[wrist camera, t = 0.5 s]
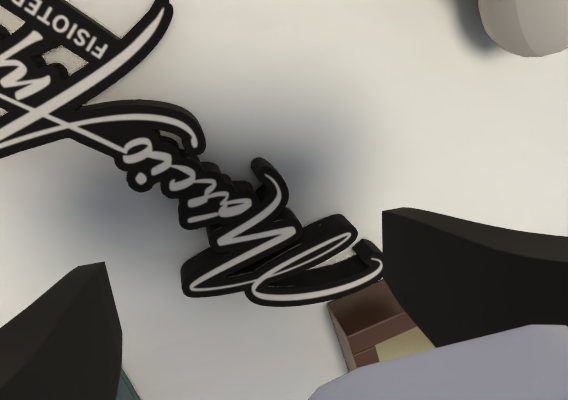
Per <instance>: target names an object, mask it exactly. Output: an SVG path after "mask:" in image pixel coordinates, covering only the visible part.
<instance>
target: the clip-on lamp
mask: <svg viewBox="0 0 568 400" xmlns="http://www.w3.org/2000/svg"><path fill="white" fill-rule="evenodd" d="M478 3H479V11H480V15H481V19H482V23H483V26H484V29H485V30H486V32H487V34H488V35H489V36H490V37H491V38H492V39H493V40H494V41H495V42H496V43H497V44H498V45H499V46H500V47H501V48H503V49H504V50H506V51H508V52H510V53H513V54H516V55H520V56H523V57H542V56H545V55H549V54H553V53H556V52H560V51H562V50H564V49H566V48H568V0H478Z"/></svg>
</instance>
